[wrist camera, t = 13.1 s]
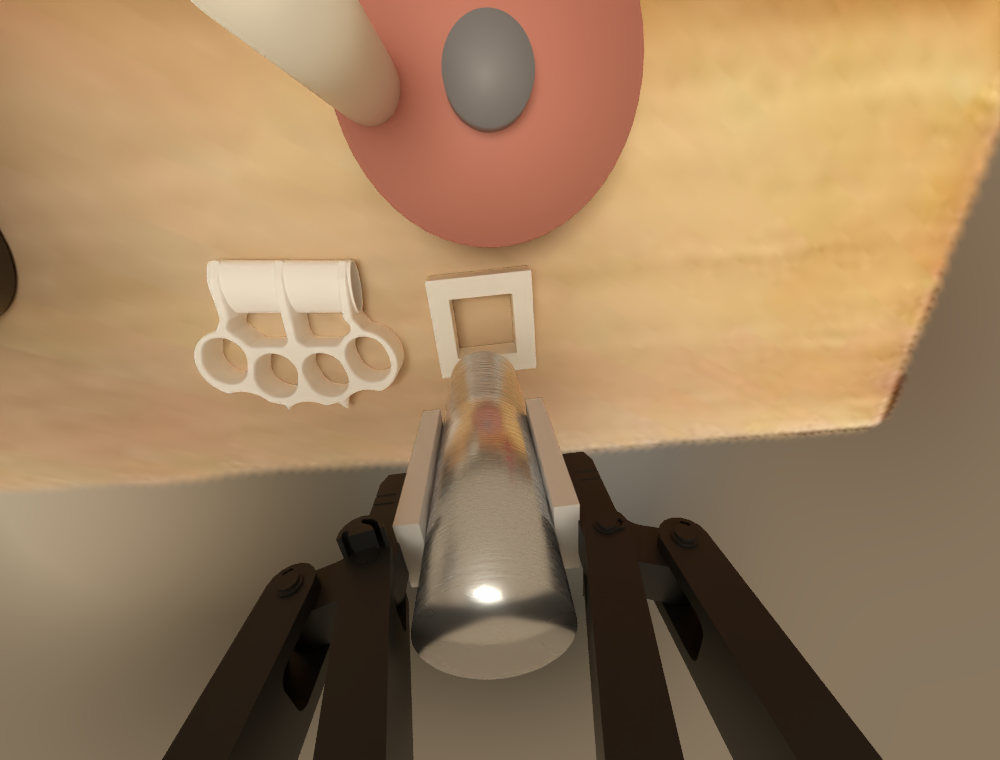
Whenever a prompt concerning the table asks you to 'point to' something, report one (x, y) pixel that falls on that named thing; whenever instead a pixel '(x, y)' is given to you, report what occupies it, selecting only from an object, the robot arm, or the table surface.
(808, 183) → the table surface
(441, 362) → the eye block
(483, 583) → the steel pin
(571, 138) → the handwheel
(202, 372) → the knuckle duster
